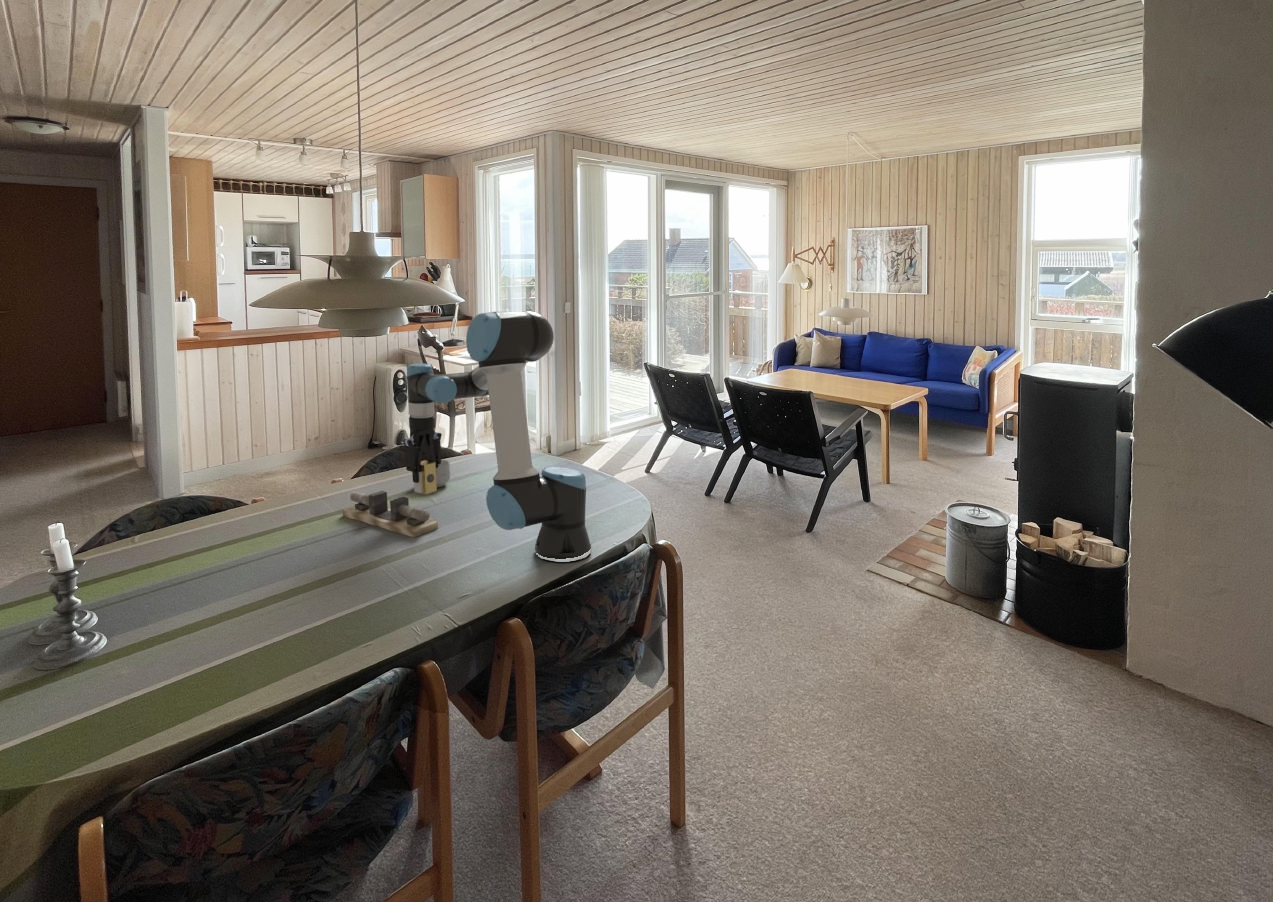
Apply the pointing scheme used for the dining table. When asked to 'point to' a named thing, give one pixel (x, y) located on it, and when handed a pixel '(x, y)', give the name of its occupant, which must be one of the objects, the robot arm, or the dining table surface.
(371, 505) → the shaft rig
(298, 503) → the dining table surface
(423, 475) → the block
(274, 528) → the dining table surface
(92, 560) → the dining table surface
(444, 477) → the teacup
